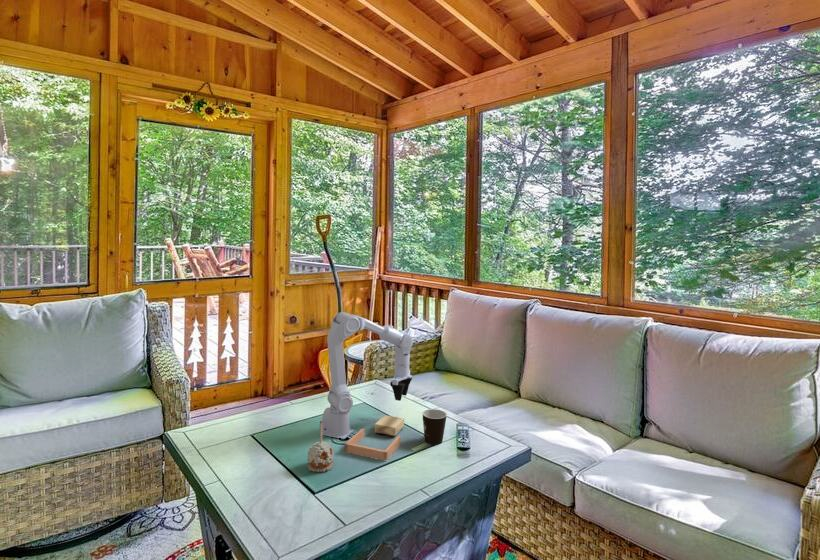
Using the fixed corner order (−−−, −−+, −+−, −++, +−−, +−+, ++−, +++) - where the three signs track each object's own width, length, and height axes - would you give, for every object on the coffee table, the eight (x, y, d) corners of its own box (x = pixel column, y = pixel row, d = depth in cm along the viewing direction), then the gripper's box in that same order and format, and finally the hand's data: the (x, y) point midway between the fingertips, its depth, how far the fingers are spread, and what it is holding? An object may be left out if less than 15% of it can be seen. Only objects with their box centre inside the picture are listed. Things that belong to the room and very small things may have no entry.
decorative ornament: (321, 476, 138) (321, 428, 137) (302, 468, 142) (302, 421, 141) (338, 465, 145) (339, 419, 143) (319, 458, 149) (320, 413, 147)
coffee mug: (443, 447, 159) (445, 419, 158) (419, 444, 161) (420, 417, 160) (447, 433, 171) (449, 407, 170) (425, 430, 172) (426, 405, 171)
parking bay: (344, 452, 153) (344, 443, 153) (361, 436, 165) (361, 428, 165) (386, 461, 148) (386, 452, 148) (400, 444, 160) (400, 436, 160)
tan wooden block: (374, 434, 168) (374, 424, 167) (384, 425, 176) (384, 415, 176) (394, 438, 165) (395, 427, 164) (403, 428, 173) (404, 418, 173)
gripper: (405, 369, 170) (403, 405, 172) (417, 360, 184) (416, 393, 185) (387, 367, 173) (386, 402, 174) (401, 358, 186) (400, 390, 188)
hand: (400, 397), depth 180 cm, fingers open, 6 cm apart
